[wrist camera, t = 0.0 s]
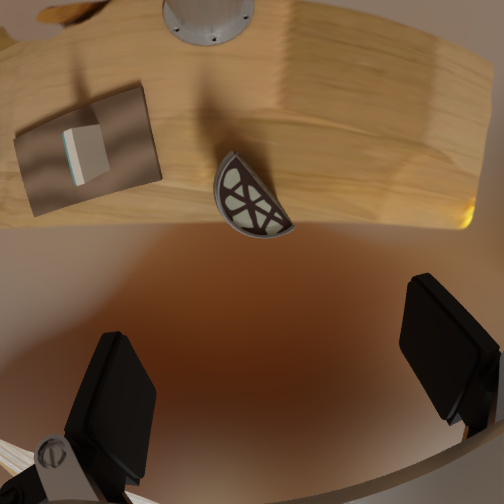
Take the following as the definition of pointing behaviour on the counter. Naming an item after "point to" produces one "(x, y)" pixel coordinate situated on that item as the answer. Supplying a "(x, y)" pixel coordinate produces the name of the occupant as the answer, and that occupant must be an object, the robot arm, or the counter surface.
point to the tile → (85, 153)
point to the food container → (248, 200)
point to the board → (116, 145)
